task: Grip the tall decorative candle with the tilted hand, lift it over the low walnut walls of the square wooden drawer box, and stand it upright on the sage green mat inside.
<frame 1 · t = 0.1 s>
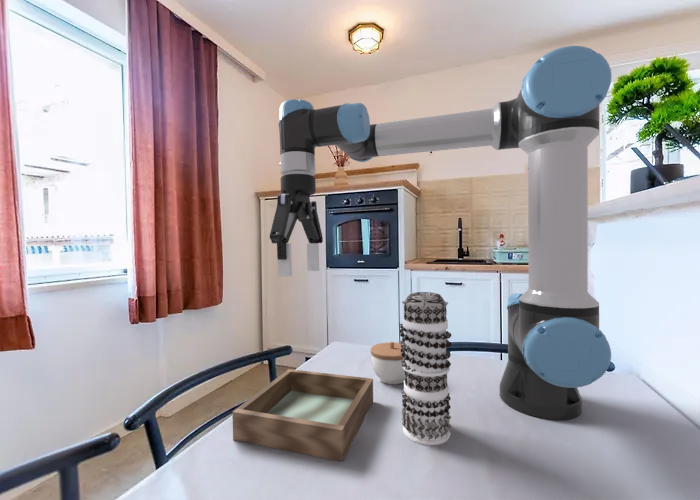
hand: (300, 273, 72), 28 cm above the table, tool pointing down, fingers open, 13 cm apart
wooden drawer box: (310, 418, 64), on the table
lidded jar: (392, 380, 83), on the table
decorative candle: (425, 432, 60), on the table
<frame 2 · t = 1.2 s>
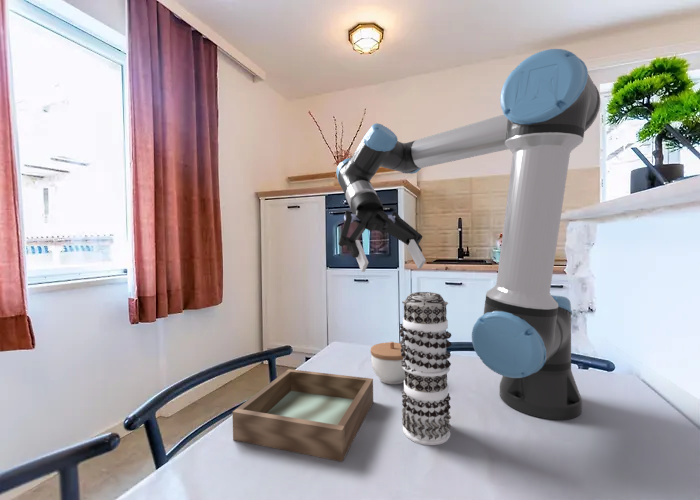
hand: (394, 266, 69), 29 cm above the table, tool tilted 45°, fingers open, 13 cm apart
nothing on the table moved.
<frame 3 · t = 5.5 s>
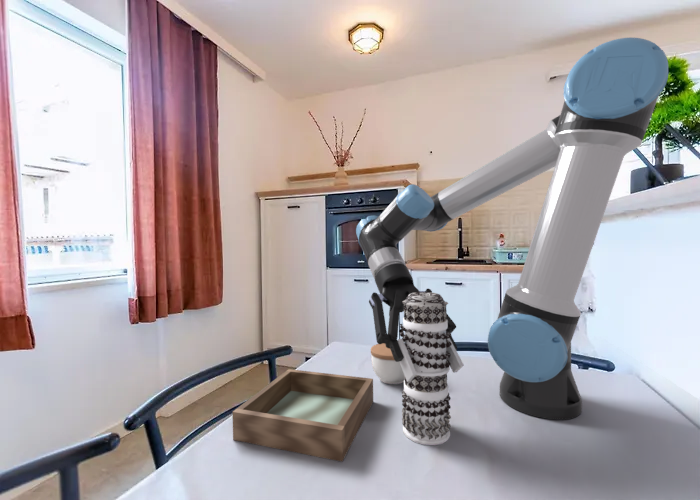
hand: (435, 373, 56), 12 cm above the table, tool tilted 45°, fingers closed on decorative candle, 9 cm apart
decorative candle: (425, 432, 60), on the table, touching gripper
everything else where it was.
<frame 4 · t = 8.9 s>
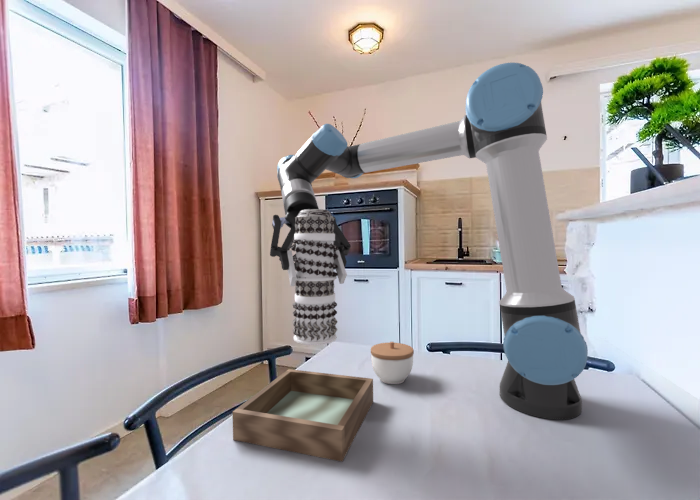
hand: (319, 280, 61), 28 cm above the table, tool tilted 45°, fingers closed on decorative candle, 9 cm apart
decorative candle: (314, 339, 64), point 16 cm above the table, touching gripper
everything else where it was.
when the fingers open (14 cm above the table, at t = 12.5 s): decorative candle drops 1 cm, resting on wooden drawer box.
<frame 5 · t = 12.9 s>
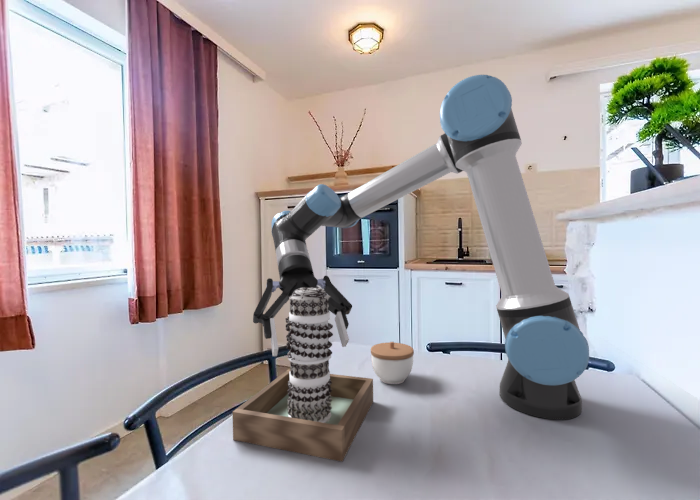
hand: (312, 348, 62), 15 cm above the table, tool tilted 45°, fingers open, 13 cm apart
decorative candle: (309, 417, 64), resting on wooden drawer box
everything else where it was.
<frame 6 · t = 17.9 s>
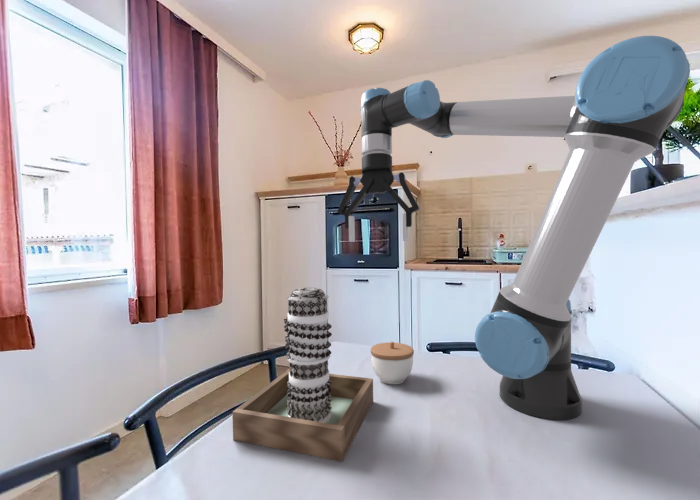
hand: (377, 241, 82), 35 cm above the table, tool pointing down, fingers open, 13 cm apart
nothing on the table moved.
at the end: decorative candle inside the target area on the wooden drawer box (0.1 cm from its centre), point 0.3 cm above the wooden drawer box's base; decorative candle tilted 0°; the gripper is holding nothing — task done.
